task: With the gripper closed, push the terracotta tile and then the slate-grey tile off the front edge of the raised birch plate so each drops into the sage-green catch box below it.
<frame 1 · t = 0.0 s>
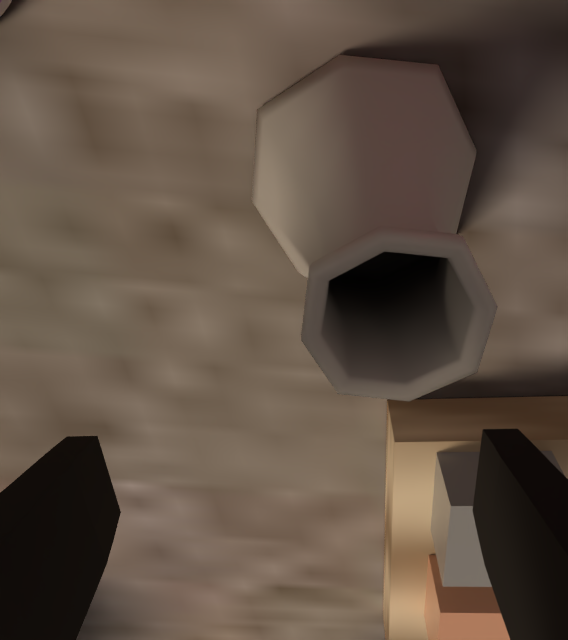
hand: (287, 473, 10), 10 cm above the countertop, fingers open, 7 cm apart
slate tile: (487, 492, 20), point 2 cm above the countertop, touching birch plate
terracotta tile: (474, 586, 23), point 2 cm above the countertop, touching birch plate
flask: (359, 173, 18), on the countertop
birch plate: (474, 522, 25), on the countertop
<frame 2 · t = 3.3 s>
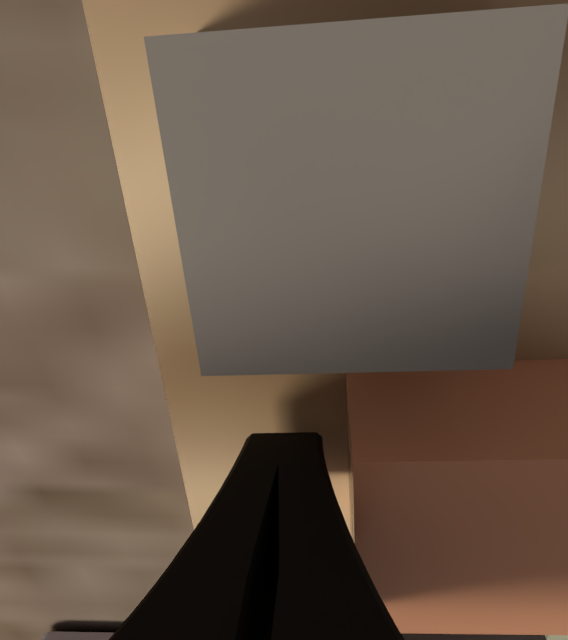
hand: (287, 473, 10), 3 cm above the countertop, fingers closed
slate tile: (343, 170, 8), point 2 cm above the countertop, touching birch plate
terracotta tile: (450, 447, 11), point 3 cm above the countertop, touching gripper
birch plate: (365, 340, 13), on the countertop
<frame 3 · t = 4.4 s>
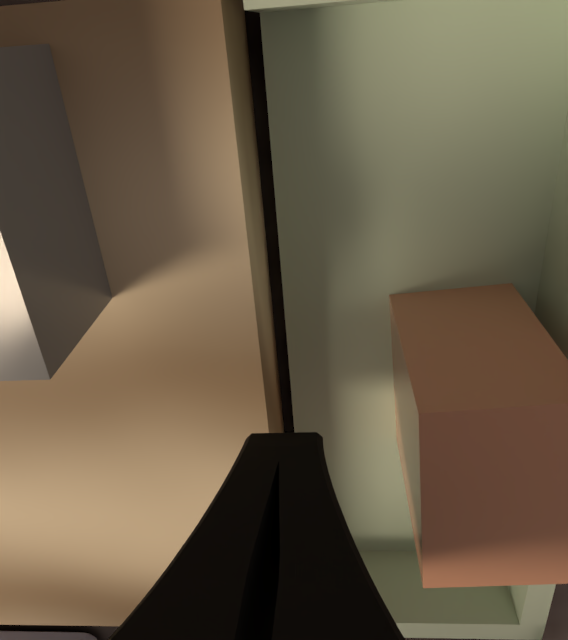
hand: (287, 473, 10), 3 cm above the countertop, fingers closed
terracotta tile: (404, 430, 11), point 2 cm above the countertop, tilted 90°, touching catch box
catch box: (417, 337, 12), on the countertop
birch plate: (110, 347, 13), on the countertop
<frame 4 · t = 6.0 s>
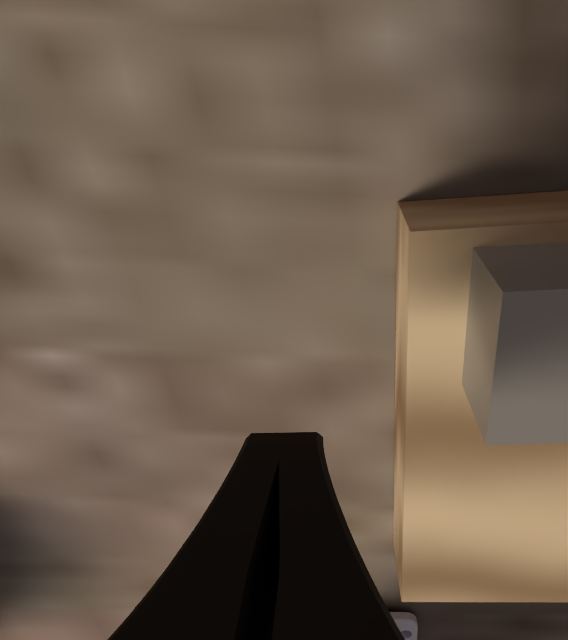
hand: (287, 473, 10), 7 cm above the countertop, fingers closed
slate tile: (547, 316, 14), point 2 cm above the countertop, touching birch plate
birch plate: (516, 399, 18), on the countertop
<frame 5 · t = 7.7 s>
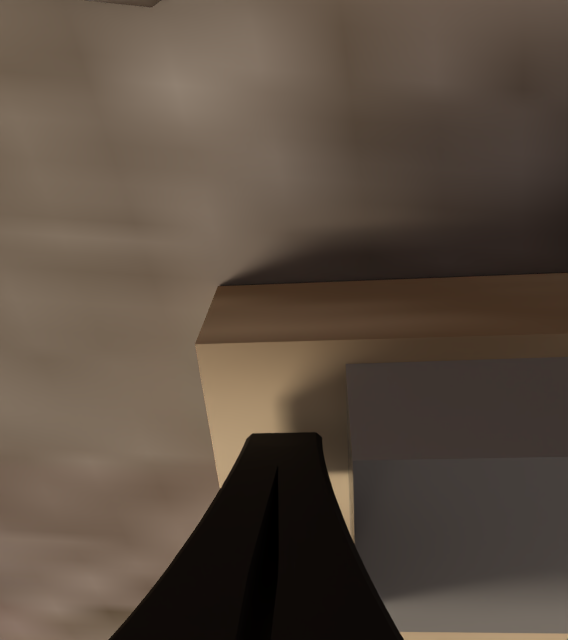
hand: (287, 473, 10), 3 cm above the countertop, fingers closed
slate tile: (450, 446, 11), point 3 cm above the countertop, touching birch plate, gripper
birch plate: (392, 509, 15), on the countertop
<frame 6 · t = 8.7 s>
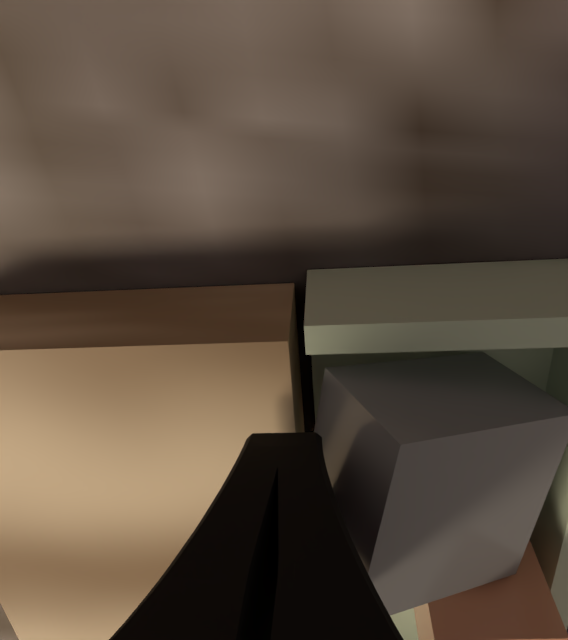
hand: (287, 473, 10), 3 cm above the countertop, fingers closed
slate tile: (390, 439, 12), point 2 cm above the countertop, tilted 27°, touching gripper
terracotta tile: (419, 608, 13), point 2 cm above the countertop, tilted 90°, touching catch box
catch box: (428, 509, 15), on the countertop
birch plate: (171, 510, 16), on the countertop
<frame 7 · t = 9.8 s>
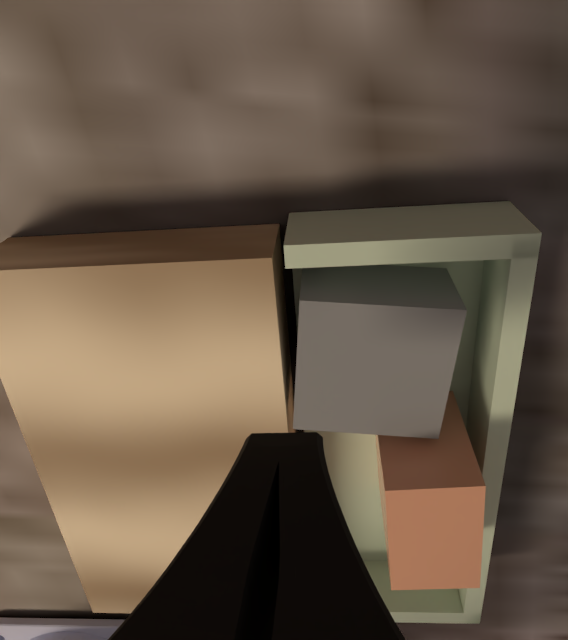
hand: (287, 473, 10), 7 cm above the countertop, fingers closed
slate tile: (366, 326, 16), resting on catch box
terracotta tile: (381, 488, 17), point 2 cm above the countertop, tilted 90°, touching catch box
catch box: (391, 418, 18), on the countertop
birch plate: (181, 422, 19), on the countertop
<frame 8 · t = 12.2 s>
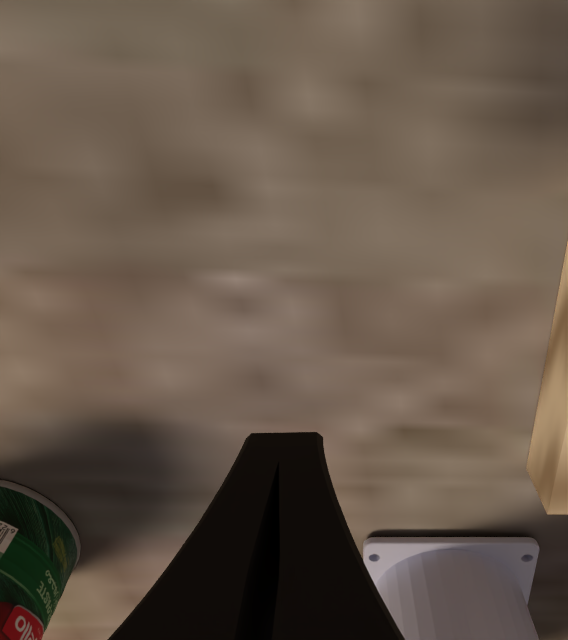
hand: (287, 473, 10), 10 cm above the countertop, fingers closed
canned tomato: (6, 529, 28), on the countertop
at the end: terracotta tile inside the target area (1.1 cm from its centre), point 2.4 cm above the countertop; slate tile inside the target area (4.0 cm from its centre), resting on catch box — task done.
